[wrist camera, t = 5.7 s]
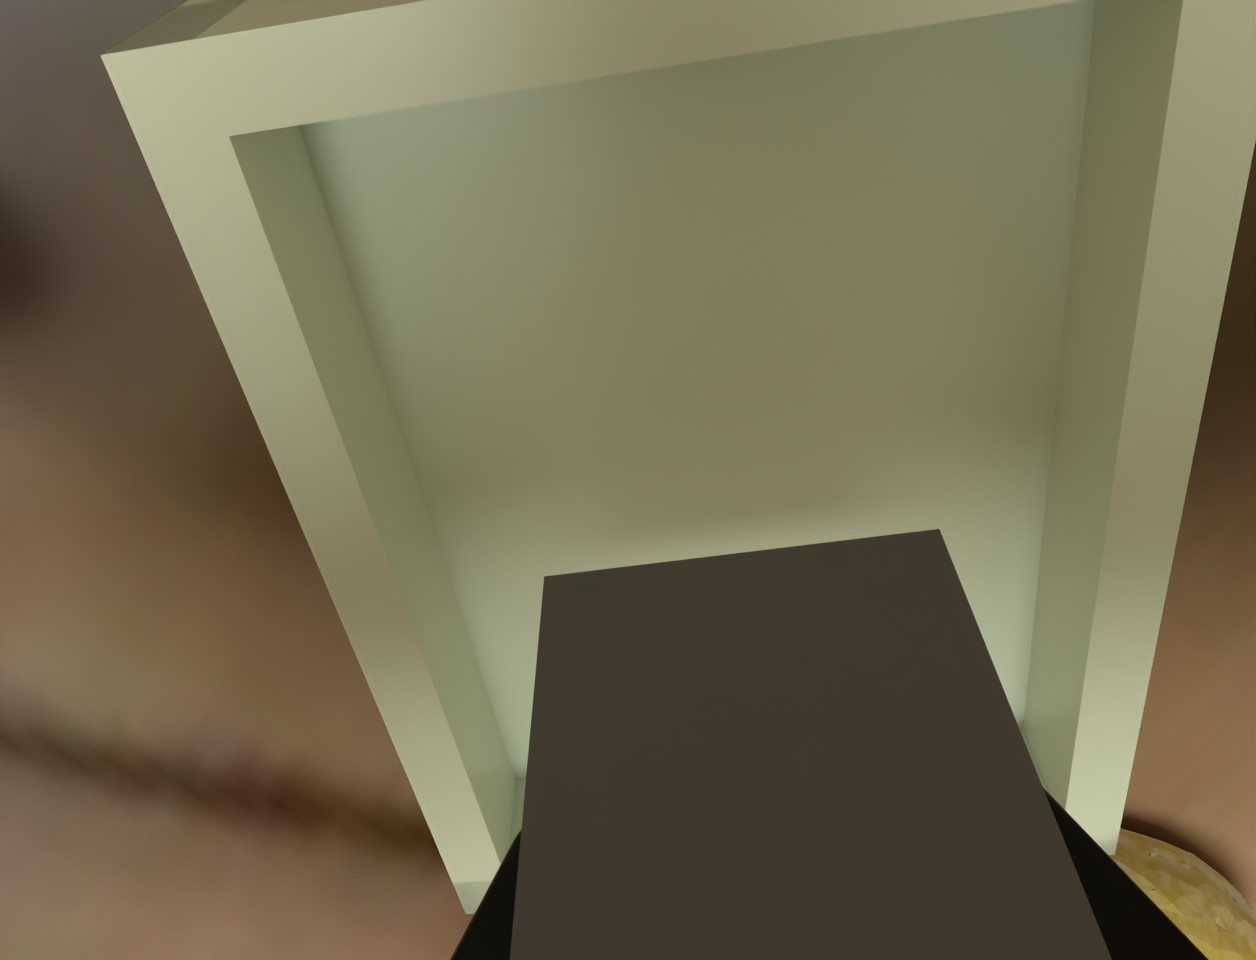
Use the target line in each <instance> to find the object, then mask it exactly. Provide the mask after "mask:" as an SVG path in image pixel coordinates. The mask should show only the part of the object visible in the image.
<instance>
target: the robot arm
mask: <svg viewBox="0 0 1256 960" xmlns="http://www.w3.org/2000/svg"><path fill="white" fill-rule="evenodd" d="M1043 789H1044V788H1043ZM1044 792H1045V794H1046V797H1047V799H1048V801H1049V804H1050V806H1051V809H1052V811H1053V814H1054V816H1055V819H1056V821H1057V824H1058V826H1059V829H1060V831H1061V834H1062V836H1063V839H1064V841H1065V844H1066V846H1067V849H1068V851H1069V854H1070V856H1071V859H1072V861H1073V864H1074V866H1075V869H1076V871H1077V874H1078V876H1079V879H1080V881H1081V884H1082V886H1083V889H1084V891H1085V894H1086V896H1087V899H1088V901H1089V904H1090V906H1091V909H1092V911H1093V914H1094V916H1095V919H1096V921H1097V924H1098V926H1099V929H1100V931H1101V934H1102V936H1103V939H1104V941H1105V944H1106V946H1107V949H1108V951H1109V954H1110V956H1111V959H1112V960H1209V959H1208V958H1207V957H1206V956H1205V955H1204V954H1203V953H1202V952H1201V951H1200V950H1199V949H1198V948H1197V947H1196V946H1195V945H1194V944H1193V943H1192V942H1191V941H1190V940H1189V939H1188V937H1187V936H1186V935H1185V934H1184V933H1183V932H1182V931H1181V930H1180V929H1179V928H1178V927H1177V926H1176V925H1175V924H1174V923H1173V922H1172V921H1171V920H1170V919H1169V918H1168V917H1167V916H1166V915H1165V914H1164V912H1163V911H1162V910H1161V909H1160V908H1159V907H1158V906H1157V905H1156V904H1155V903H1154V902H1153V901H1152V900H1151V899H1150V898H1149V897H1148V896H1147V895H1146V894H1145V893H1144V892H1143V891H1142V890H1141V889H1140V888H1139V886H1138V885H1137V884H1136V883H1135V882H1134V881H1133V880H1132V879H1131V878H1130V877H1129V876H1128V875H1127V874H1126V873H1125V872H1124V871H1123V870H1122V869H1121V868H1120V867H1119V866H1118V865H1117V864H1116V863H1115V862H1114V860H1113V859H1112V858H1111V857H1110V856H1109V855H1108V854H1107V853H1106V852H1105V851H1104V850H1103V849H1102V848H1101V847H1100V846H1099V845H1098V844H1097V843H1096V842H1095V841H1094V840H1093V839H1092V838H1091V837H1090V835H1089V834H1088V833H1087V832H1086V831H1085V830H1084V829H1083V828H1082V827H1081V826H1080V825H1079V824H1078V823H1077V822H1076V821H1075V820H1074V819H1073V818H1072V817H1071V816H1070V815H1069V814H1068V813H1067V812H1066V811H1065V809H1064V808H1063V807H1062V806H1061V805H1060V804H1059V803H1058V802H1057V801H1056V800H1055V799H1054V798H1053V797H1052V796H1051V795H1050V794H1049V793H1048V792H1047V791H1046V790H1045V789H1044ZM520 840H521V830H520V831H519V832H518V834H517V835H516V837H515V839H514V840H513V842H512V844H511V846H510V848H509V850H508V852H507V854H506V856H505V857H504V859H503V861H502V863H501V865H500V867H499V869H498V871H497V872H496V874H495V876H494V878H493V880H492V882H491V884H490V886H489V888H488V889H487V891H486V893H485V895H484V897H483V899H482V901H481V903H480V905H479V906H478V908H477V910H476V912H475V914H474V916H473V918H472V920H471V921H470V923H469V925H468V927H467V929H466V931H465V933H464V935H463V937H462V938H461V940H460V942H459V944H458V946H457V948H456V950H455V952H454V954H453V955H452V957H451V959H450V960H510V951H511V940H512V929H513V918H514V907H515V896H516V884H517V873H518V862H519V851H520Z"/></svg>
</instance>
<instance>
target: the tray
mask: <svg viewBox="0 0 1256 960" xmlns="http://www.w3.org/2000/svg"><path fill="white" fill-rule="evenodd" d="M101 58H102V60H103V62H104V65H105V67H106V69H107V72H108V74H109V76H110V79H111V81H112V83H113V86H114V88H115V90H116V93H117V95H118V97H119V100H120V102H121V105H122V107H123V109H124V112H125V114H126V116H127V119H128V121H129V123H130V126H131V128H132V130H133V133H134V135H135V137H136V140H137V142H138V144H139V147H140V149H141V152H142V154H143V156H144V159H145V161H146V163H147V166H148V168H149V170H150V173H151V175H152V177H153V180H154V182H155V184H156V187H157V189H158V192H159V194H160V196H161V199H162V201H163V203H164V206H165V208H166V210H167V213H168V215H169V217H170V220H171V222H172V224H173V227H174V229H175V231H176V234H177V236H178V239H179V241H180V243H181V246H182V248H183V250H184V253H185V255H186V257H187V260H188V262H189V264H190V267H191V269H192V271H193V274H194V276H195V279H196V281H197V283H198V286H199V288H200V290H201V293H202V295H203V297H204V300H205V302H206V304H207V307H208V309H209V311H210V314H211V316H212V318H213V321H214V323H215V326H216V328H217V330H218V333H219V335H220V337H221V340H222V342H223V344H224V347H225V349H226V351H227V354H228V356H229V358H230V361H231V363H232V365H233V368H234V370H235V373H236V375H237V377H238V380H239V382H240V384H241V387H242V389H243V391H244V394H245V396H246V398H247V401H248V403H249V405H250V408H251V410H252V413H253V415H254V417H255V420H256V422H257V424H258V427H259V429H260V431H261V434H262V436H263V438H264V441H265V443H266V445H267V448H268V450H269V452H270V455H271V457H272V460H273V462H274V464H275V467H276V469H277V471H278V474H279V476H280V478H281V481H282V483H283V485H284V488H285V490H286V492H287V495H288V497H289V499H290V502H291V504H292V507H293V509H294V511H295V514H296V516H297V518H298V521H299V523H300V525H301V528H302V530H303V532H304V535H305V537H306V539H307V542H308V544H309V546H310V549H311V551H312V554H313V556H314V558H315V561H316V563H317V565H318V568H319V570H320V572H321V575H322V577H323V579H324V582H325V584H326V586H327V589H328V591H329V594H330V596H331V598H332V601H333V603H334V605H335V608H336V610H337V612H338V615H339V617H340V619H341V622H342V624H343V626H344V629H345V631H346V633H347V636H348V638H349V641H350V643H351V645H352V648H353V650H354V652H355V655H356V657H357V659H358V662H359V664H360V666H361V669H362V671H363V673H364V676H365V678H366V680H367V683H368V685H369V688H370V690H371V692H372V695H373V697H374V699H375V702H376V704H377V706H378V709H379V711H380V713H381V716H382V718H383V720H384V723H385V725H386V728H387V730H388V732H389V735H390V737H391V739H392V742H393V744H394V746H395V749H396V751H397V753H398V756H399V758H400V760H401V763H402V765H403V767H404V770H405V772H406V775H407V777H408V779H409V782H410V784H411V786H412V789H413V791H414V793H415V796H416V798H417V800H418V803H419V805H420V807H421V810H422V812H423V814H424V817H425V819H426V822H427V824H428V826H429V829H430V831H431V833H432V836H433V838H434V840H435V843H436V845H437V847H438V850H439V852H440V854H441V857H442V859H443V862H444V864H445V866H446V869H447V871H448V873H449V876H450V878H451V880H452V883H453V885H454V887H455V890H456V892H457V894H458V897H459V899H460V901H461V904H462V906H463V909H464V911H465V913H466V914H475V912H476V910H477V908H478V906H479V905H480V903H481V901H482V899H483V897H484V895H485V893H486V891H487V889H488V888H489V886H490V884H491V882H492V880H493V878H494V876H495V874H496V872H497V871H498V869H499V867H500V865H501V863H502V861H503V859H504V857H505V856H506V854H507V852H508V850H509V848H510V846H511V844H512V842H513V840H514V839H515V837H516V835H517V834H518V832H519V831H520V830H521V829H522V818H523V806H524V795H525V784H526V773H527V762H528V751H529V739H530V728H531V717H532V706H533V695H534V684H535V673H536V661H537V650H538V639H539V628H540V617H541V606H542V594H543V583H544V576H551V575H560V574H568V573H576V572H585V571H593V570H601V569H610V568H618V567H626V566H635V565H643V564H651V563H660V562H668V561H676V560H685V559H693V558H701V557H710V556H718V555H726V554H734V553H743V552H751V551H759V550H768V549H776V548H784V547H793V546H801V545H809V544H818V543H826V542H834V541H843V540H851V539H859V538H868V537H876V536H884V535H892V534H901V533H909V532H917V531H926V530H934V529H940V532H941V534H942V537H943V539H944V542H945V544H946V547H947V549H948V552H949V554H950V557H951V559H952V562H953V564H954V567H955V569H956V572H957V574H958V577H959V579H960V582H961V584H962V587H963V589H964V592H965V594H966V597H967V599H968V602H969V604H970V607H971V609H972V612H973V614H974V617H975V619H976V622H977V624H978V627H979V629H980V632H981V634H982V637H983V639H984V642H985V644H986V647H987V649H988V652H989V654H990V657H991V659H992V662H993V664H994V667H995V669H996V672H997V674H998V677H999V679H1000V682H1001V684H1002V687H1003V689H1004V692H1005V694H1006V697H1007V699H1008V702H1009V704H1010V707H1011V709H1012V712H1013V714H1014V717H1015V719H1016V722H1017V724H1018V727H1019V729H1020V732H1021V734H1022V737H1023V739H1024V742H1025V744H1026V747H1027V749H1028V752H1029V754H1030V757H1031V759H1032V762H1033V764H1034V767H1035V769H1036V772H1037V774H1038V777H1039V779H1040V782H1041V784H1042V787H1043V788H1044V789H1045V790H1046V791H1047V792H1048V793H1049V794H1050V795H1051V796H1052V797H1053V798H1054V799H1055V800H1056V801H1057V802H1058V803H1059V804H1060V805H1061V806H1062V807H1063V808H1064V809H1065V811H1066V812H1067V813H1068V814H1069V815H1070V816H1071V817H1072V818H1073V819H1074V820H1075V821H1076V822H1077V823H1078V824H1079V825H1080V826H1081V827H1082V828H1083V829H1084V830H1085V831H1086V832H1087V833H1088V834H1089V835H1090V837H1091V838H1092V839H1093V840H1094V841H1095V842H1096V843H1097V844H1098V845H1099V846H1100V847H1101V848H1102V849H1103V850H1104V851H1105V852H1106V853H1107V854H1108V855H1115V851H1116V846H1117V841H1118V836H1119V831H1120V826H1121V821H1122V816H1123V811H1124V806H1125V801H1126V796H1127V790H1128V785H1129V780H1130V775H1131V770H1132V765H1133V760H1134V755H1135V750H1136V745H1137V740H1138V735H1139V730H1140V725H1141V719H1142V714H1143V709H1144V704H1145V699H1146V694H1147V689H1148V684H1149V679H1150V674H1151V669H1152V664H1153V659H1154V653H1155V648H1156V643H1157V638H1158V633H1159V628H1160V623H1161V618H1162V613H1163V608H1164V603H1165V598H1166V593H1167V588H1168V582H1169V577H1170V572H1171V567H1172V562H1173V557H1174V552H1175V547H1176V542H1177V537H1178V532H1179V527H1180V522H1181V517H1182V511H1183V506H1184V501H1185V496H1186V491H1187V486H1188V481H1189V476H1190V471H1191V466H1192V461H1193V456H1194V451H1195V445H1196V440H1197V435H1198V430H1199V425H1200V420H1201V415H1202V410H1203V405H1204V400H1205V395H1206V390H1207V385H1208V380H1209V374H1210V369H1211V364H1212V359H1213V354H1214V349H1215V344H1216V339H1217V334H1218V329H1219V324H1220V319H1221V314H1222V309H1223V303H1224V298H1225V293H1226V288H1227V283H1228V278H1229V273H1230V268H1231V263H1232V258H1233V253H1234V248H1235V243H1236V237H1237V232H1238V227H1239V222H1240V217H1241V212H1242V207H1243V202H1244V197H1245V192H1246V187H1247V182H1248V177H1249V172H1250V166H1251V161H1252V156H1253V151H1254V146H1255V141H1256V0H188V1H186V2H185V3H183V4H182V5H180V6H178V7H177V8H175V9H174V10H172V11H170V12H169V13H167V14H166V15H164V16H162V17H161V18H159V19H158V20H156V21H154V22H153V23H151V24H150V25H148V26H146V27H145V28H143V29H142V30H140V31H138V32H137V33H135V34H134V35H132V36H130V37H129V38H127V39H126V40H124V41H122V42H121V43H119V44H117V45H116V46H114V47H113V48H111V49H109V50H108V51H106V52H105V53H103V54H101Z"/></svg>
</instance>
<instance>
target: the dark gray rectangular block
mask: <svg viewBox="0 0 1256 960" xmlns="http://www.w3.org/2000/svg"><path fill="white" fill-rule="evenodd" d="M510 960H1112V959H1111V956H1110V954H1109V951H1108V949H1107V946H1106V944H1105V941H1104V939H1103V936H1102V934H1101V931H1100V929H1099V926H1098V924H1097V921H1096V919H1095V916H1094V914H1093V911H1092V909H1091V906H1090V904H1089V901H1088V899H1087V896H1086V894H1085V891H1084V889H1083V886H1082V884H1081V881H1080V879H1079V876H1078V874H1077V871H1076V869H1075V866H1074V864H1073V861H1072V859H1071V856H1070V854H1069V851H1068V849H1067V846H1066V844H1065V841H1064V839H1063V836H1062V834H1061V831H1060V829H1059V826H1058V824H1057V821H1056V819H1055V816H1054V814H1053V811H1052V809H1051V806H1050V804H1049V801H1048V799H1047V797H1046V794H1045V792H1044V789H1043V787H1042V784H1041V782H1040V779H1039V777H1038V774H1037V772H1036V769H1035V767H1034V764H1033V762H1032V759H1031V757H1030V754H1029V752H1028V749H1027V747H1026V744H1025V742H1024V739H1023V737H1022V734H1021V732H1020V729H1019V727H1018V724H1017V722H1016V719H1015V717H1014V714H1013V712H1012V709H1011V707H1010V704H1009V702H1008V699H1007V697H1006V694H1005V692H1004V689H1003V687H1002V684H1001V682H1000V679H999V677H998V674H997V672H996V669H995V667H994V664H993V662H992V659H991V657H990V654H989V652H988V649H987V647H986V644H985V642H984V639H983V637H982V634H981V632H980V629H979V627H978V624H977V622H976V619H975V617H974V614H973V612H972V609H971V607H970V604H969V602H968V599H967V597H966V594H965V592H964V589H963V587H962V584H961V582H960V579H959V577H958V574H957V572H956V569H955V567H954V564H953V562H952V559H951V557H950V554H949V552H948V549H947V547H946V544H945V542H944V539H943V537H942V534H941V532H940V529H934V530H926V531H917V532H909V533H901V534H892V535H884V536H876V537H868V538H859V539H851V540H843V541H834V542H826V543H818V544H809V545H801V546H793V547H784V548H776V549H768V550H759V551H751V552H743V553H734V554H726V555H718V556H710V557H701V558H693V559H685V560H676V561H668V562H660V563H651V564H643V565H635V566H626V567H618V568H610V569H601V570H593V571H585V572H576V573H568V574H560V575H551V576H544V583H543V594H542V606H541V617H540V628H539V639H538V650H537V661H536V673H535V684H534V695H533V706H532V717H531V728H530V739H529V751H528V762H527V773H526V784H525V795H524V806H523V818H522V829H521V840H520V851H519V862H518V873H517V884H516V896H515V907H514V918H513V929H512V940H511V951H510Z"/></svg>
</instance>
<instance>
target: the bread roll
mask: <svg viewBox="0 0 1256 960" xmlns="http://www.w3.org/2000/svg"><path fill="white" fill-rule="evenodd" d="M1109 856H1110V857H1111V858H1112V859H1113V860H1114V862H1115V863H1116V864H1117V865H1118V866H1119V867H1120V868H1121V869H1122V870H1123V871H1124V872H1125V873H1126V874H1127V875H1128V876H1129V877H1130V878H1131V879H1132V880H1133V881H1134V882H1135V883H1136V884H1137V885H1138V886H1139V888H1140V889H1141V890H1142V891H1143V892H1144V893H1145V894H1146V895H1147V896H1148V897H1149V898H1150V899H1151V900H1152V901H1153V902H1154V903H1155V904H1156V905H1157V906H1158V907H1159V908H1160V909H1161V910H1162V911H1163V912H1164V914H1165V915H1166V916H1167V917H1168V918H1169V919H1170V920H1171V921H1172V922H1173V923H1174V924H1175V925H1176V926H1177V927H1178V928H1179V929H1180V930H1181V931H1182V932H1183V933H1184V934H1185V935H1186V936H1187V937H1188V939H1189V940H1190V941H1191V942H1192V943H1193V944H1194V945H1195V946H1196V947H1197V948H1198V949H1199V950H1200V951H1201V952H1202V953H1203V954H1204V955H1205V956H1206V957H1207V958H1208V959H1209V960H1256V921H1255V918H1254V915H1253V913H1252V910H1251V908H1250V907H1249V905H1248V904H1247V902H1246V901H1245V899H1244V898H1243V897H1242V895H1241V894H1240V892H1239V891H1238V890H1237V889H1236V888H1235V887H1234V886H1233V885H1232V884H1231V883H1229V882H1228V881H1227V880H1226V879H1225V878H1224V877H1223V876H1222V875H1220V874H1219V873H1218V872H1217V871H1215V870H1214V869H1213V868H1211V867H1210V866H1209V865H1207V864H1206V863H1205V862H1203V861H1202V860H1201V859H1199V858H1198V857H1196V856H1195V855H1194V854H1192V853H1190V852H1187V851H1184V850H1182V849H1180V848H1178V847H1176V846H1173V845H1171V844H1169V843H1166V842H1164V841H1161V840H1158V839H1154V838H1151V837H1148V836H1145V835H1142V834H1139V833H1136V832H1132V831H1128V830H1125V829H1122V828H1120V831H1119V836H1118V841H1117V846H1116V851H1115V855H1109Z"/></svg>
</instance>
